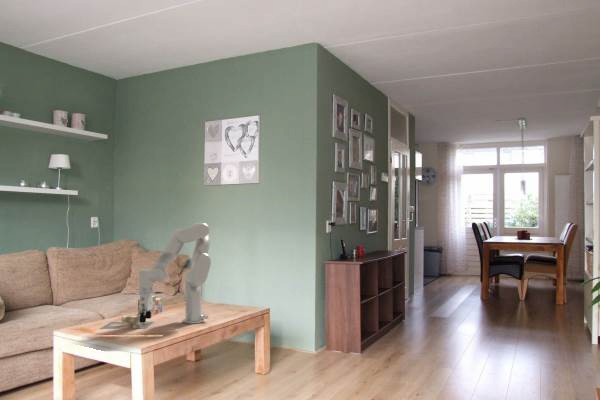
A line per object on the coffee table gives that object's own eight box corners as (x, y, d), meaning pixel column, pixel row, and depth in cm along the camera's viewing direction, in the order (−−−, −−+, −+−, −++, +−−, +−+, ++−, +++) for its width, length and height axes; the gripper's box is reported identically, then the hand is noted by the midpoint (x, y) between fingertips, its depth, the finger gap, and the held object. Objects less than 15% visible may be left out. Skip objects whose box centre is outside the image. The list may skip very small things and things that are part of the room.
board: (154, 323, 297) (154, 321, 297) (145, 330, 279) (145, 328, 279) (111, 323, 297) (111, 321, 297) (98, 330, 279) (98, 328, 279)
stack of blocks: (153, 311, 332) (153, 293, 332) (162, 312, 331) (162, 293, 331) (137, 318, 311) (137, 298, 311) (147, 319, 310) (147, 299, 310)
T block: (146, 322, 294) (146, 314, 294) (139, 327, 282) (139, 318, 282) (126, 322, 294) (126, 314, 294) (119, 327, 282) (119, 318, 282)
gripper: (147, 293, 280) (147, 323, 279) (156, 288, 297) (156, 317, 296) (134, 293, 280) (133, 323, 279) (143, 288, 297) (143, 317, 297)
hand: (145, 320), depth 288 cm, fingers open, 9 cm apart
